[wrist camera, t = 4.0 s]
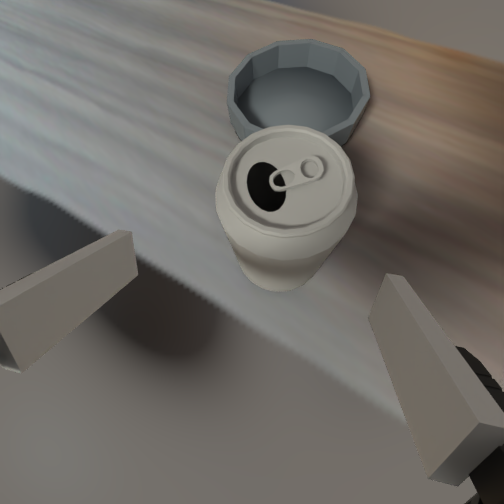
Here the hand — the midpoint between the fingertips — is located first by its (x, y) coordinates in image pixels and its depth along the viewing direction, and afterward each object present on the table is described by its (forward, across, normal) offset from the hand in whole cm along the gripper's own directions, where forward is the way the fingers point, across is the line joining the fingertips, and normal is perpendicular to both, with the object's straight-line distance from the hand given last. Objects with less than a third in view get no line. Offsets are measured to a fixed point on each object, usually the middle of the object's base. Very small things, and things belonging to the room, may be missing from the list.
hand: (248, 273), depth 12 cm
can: (+10, +1, -4) cm, 10 cm away
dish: (+22, 0, +9) cm, 24 cm away
